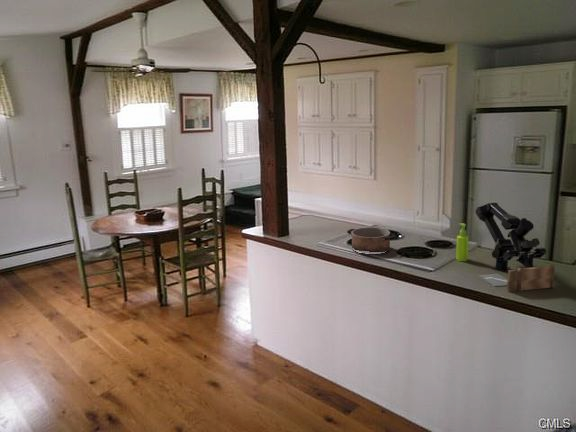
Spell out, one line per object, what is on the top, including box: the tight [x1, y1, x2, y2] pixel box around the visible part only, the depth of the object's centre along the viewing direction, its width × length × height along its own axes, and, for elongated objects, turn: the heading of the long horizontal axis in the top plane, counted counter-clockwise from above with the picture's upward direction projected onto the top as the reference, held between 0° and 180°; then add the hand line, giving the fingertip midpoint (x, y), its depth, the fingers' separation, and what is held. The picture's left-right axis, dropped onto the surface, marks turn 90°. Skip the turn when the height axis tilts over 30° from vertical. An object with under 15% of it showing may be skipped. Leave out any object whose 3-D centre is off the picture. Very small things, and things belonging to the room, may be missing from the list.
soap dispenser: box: [455, 222, 470, 262], centre depth 247 cm, size 6×7×20 cm
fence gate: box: [521, 264, 556, 291], centre depth 206 cm, size 15×2×10 cm, turn 96°
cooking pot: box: [347, 226, 396, 252], centre depth 272 cm, size 30×22×11 cm
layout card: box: [478, 273, 508, 288], centre depth 219 cm, size 14×10×1 cm
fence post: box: [506, 267, 523, 293], centre depth 205 cm, size 6×2×10 cm, turn 96°
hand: (531, 270), depth 209 cm, fingers closed
